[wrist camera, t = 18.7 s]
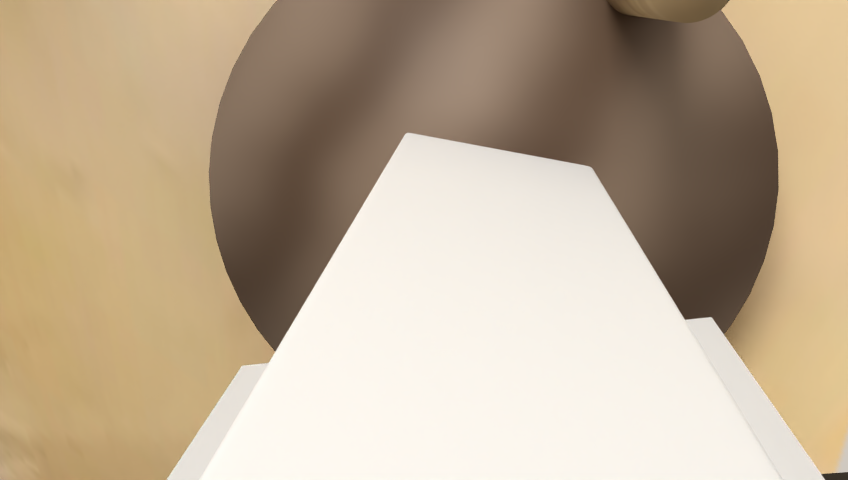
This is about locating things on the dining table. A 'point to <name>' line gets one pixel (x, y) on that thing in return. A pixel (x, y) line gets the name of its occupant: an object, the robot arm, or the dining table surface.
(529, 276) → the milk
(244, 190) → the turntable
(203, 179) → the dining table surface
